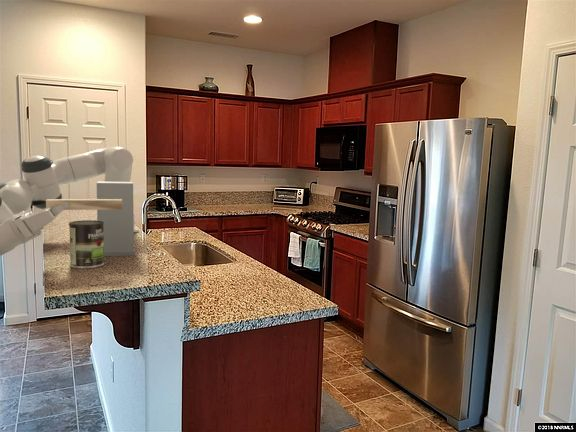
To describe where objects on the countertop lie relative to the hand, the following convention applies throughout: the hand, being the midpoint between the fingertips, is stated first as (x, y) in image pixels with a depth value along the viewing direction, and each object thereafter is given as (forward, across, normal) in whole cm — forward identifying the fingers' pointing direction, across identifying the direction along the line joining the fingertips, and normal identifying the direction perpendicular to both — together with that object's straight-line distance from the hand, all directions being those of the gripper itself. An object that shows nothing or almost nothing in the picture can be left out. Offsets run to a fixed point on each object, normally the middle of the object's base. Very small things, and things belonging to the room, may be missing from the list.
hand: (69, 203), depth 142 cm
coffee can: (-6, 0, -20) cm, 21 cm away
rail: (+3, 0, -4) cm, 5 cm away
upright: (+1, -16, -24) cm, 29 cm away
